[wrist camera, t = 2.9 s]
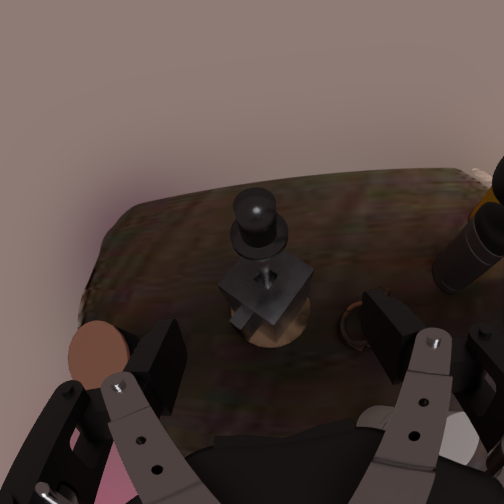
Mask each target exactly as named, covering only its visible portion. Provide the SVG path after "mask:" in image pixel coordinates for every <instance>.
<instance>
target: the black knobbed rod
mask: <svg viewBox="0 0 504 504" xmlns="http://www.w3.org/2000/svg"><path fill="white" fill-rule="evenodd" d="M233 208H234V212H235V216H236V220H235V221H234V223H233V224H232V227H231V230H230V239H231V242H232V245H233V247H234V249H235V251H236V252H237V253H238V254H239V255H240V256H242V257H243V258H245V259H247V260H251V261H258V264H259V269H260V273H259V274H258V276H257V277H256V278H255V279H254V280H255V281H256V282H258V283H259V284H261V285H262V286H263V287H265V288H266V289H269V287H270V286H271V285H272V284H273V282H274V281H275V280H276V278H277V277H278V276H277V275H276V274H274V273H273V272H271V271H270V267H269V260H270V259H272V258H274V257H276V256H277V255H279V254H280V253H281V252H282V251H283V249H284V248H285V246H286V244H287V241H288V227H287V224H286V222H285V220H284V219H283V218H282V216H280V215H279V214H278V213H276V200H275V197H274V196H273V194H272V193H271V192H269V191H268V190H266V189H263V188H258V187H254V188H249V189H246V190H244V191H242V192H241V193H239V194H238V195H237V196H236V198H235V200H234V203H233Z"/></svg>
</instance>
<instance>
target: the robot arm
mask: <svg viewBox="0 0 504 504" xmlns="http://www.w3.org/2000/svg"><path fill="white" fill-rule="evenodd" d="M492 190H493V193H494V195H495V197H496V199H497V200H498V201H499V202H500V203H501V204H499V203H496V202H486V203H484V204H483V205H482V206H481V207H480V208H479V209H478V211H477V212H476V213H475V215H474V216H473V217H472V218H471V219H470V221H469V222H468V223H467V224H466V226H465V227H464V228H463V229H462V230H461V232H460V233H459V234H458V235H457V236H456V237H455V238H454V240H453V241H452V242H451V243H450V244H449V245H448V246H447V247H446V248H445V249H444V250H443V252H442V253H441V254H440V255H439V256H438V257H437V258H436V259H435V261H434V263H433V276H434V279H435V281H436V283H437V285H438V286H439V287H440V288H441V289H442V290H443V291H444V292H446V293H449V294H455V293H458V292H460V291H461V290H462V289H464V288H465V287H466V286H468V285H469V284H471V283H472V282H473V281H475V280H476V279H477V278H478V277H480V276H481V275H482V274H484V273H485V272H486V271H487V270H489V269H490V268H491V267H492V266H493V265H495V264H496V263H497V262H498V261H499V260H501V259H502V258H503V257H504V156H503V158H502V159H501V160H500V162H499V163H498V165H497V167H496V169H495V171H494V174H493V179H492ZM362 331H363V334H364V337H365V338H366V340H367V342H368V343H369V345H370V347H371V348H372V350H373V352H374V353H375V355H376V357H377V358H378V360H379V362H380V363H381V365H382V367H383V368H384V370H385V372H386V374H387V375H388V377H389V379H390V380H391V382H392V384H393V385H396V384H399V383H402V382H403V385H402V388H401V391H400V394H399V397H398V400H397V403H396V405H395V408H394V411H393V414H392V416H391V419H390V421H389V424H388V426H387V429H386V431H385V430H382V429H378V428H372V427H360V426H359V427H355V425H354V423H353V420H352V418H350V419H346V420H341V421H337V422H333V423H328V424H323V425H319V426H316V427H314V428H311V429H308V430H306V431H303V432H301V433H298V434H295V435H292V436H289V437H286V438H274V437H263V436H253V435H238V436H215V437H214V446H210V447H207V448H203V449H201V450H198V451H196V452H194V453H192V454H190V455H188V456H187V457H185V458H184V457H183V456H182V455H181V453H180V452H179V450H178V449H177V447H176V446H175V444H174V443H173V442H172V440H171V439H170V437H169V435H168V434H167V432H166V431H165V429H164V428H163V426H162V425H161V423H160V421H159V418H160V415H166V416H171V414H172V411H173V407H174V404H175V400H176V397H177V393H178V390H179V386H180V383H181V379H182V376H183V373H184V369H185V366H186V363H187V350H186V346H185V343H184V340H183V337H182V334H181V331H180V328H179V325H178V322H177V321H176V319H168V320H159V321H158V322H157V323H156V325H155V327H154V329H153V330H152V332H148V333H147V334H146V335H145V336H143V337H142V338H141V339H140V341H139V343H138V345H137V347H136V348H135V350H134V352H133V353H132V355H131V357H130V359H129V360H128V362H127V364H126V366H125V368H124V369H123V371H122V372H117V373H114V374H112V375H110V376H108V377H107V378H106V379H105V380H104V381H103V382H102V384H101V388H95V389H89V390H85V388H84V387H83V385H82V383H81V382H79V381H77V380H70V381H67V382H65V383H62V384H61V385H60V386H58V388H57V389H56V390H55V392H54V393H53V395H52V396H51V398H50V399H49V401H48V403H47V404H46V406H45V407H44V409H43V411H42V412H41V414H40V416H39V417H38V419H37V421H36V422H35V424H34V426H33V428H32V429H31V431H30V433H29V435H28V436H27V438H26V440H25V442H24V443H23V445H22V447H21V449H20V451H19V453H18V455H17V457H16V458H15V461H14V463H13V465H12V466H11V468H10V470H9V473H8V475H7V477H6V479H5V481H4V483H3V485H2V488H1V490H0V504H94V502H95V498H96V495H97V491H98V488H99V484H100V481H101V478H102V474H103V471H104V468H105V465H106V462H107V459H108V455H109V453H110V449H111V446H112V444H113V441H114V442H115V445H116V447H117V450H118V452H119V455H120V457H121V459H122V462H123V464H124V466H125V468H126V471H127V473H128V475H129V477H130V479H131V481H132V483H133V485H134V487H135V489H136V491H137V493H138V495H137V496H135V497H134V498H133V499H131V500H130V501H129V502H127V503H126V504H504V335H503V334H502V333H501V332H500V331H499V330H498V329H497V328H496V327H495V326H493V325H491V324H488V323H476V324H474V325H472V326H471V327H470V330H469V333H468V336H467V337H459V338H451V336H450V334H449V333H447V332H446V331H444V330H442V329H439V328H428V327H427V326H426V325H425V324H424V323H423V322H422V321H421V320H420V319H419V318H418V317H417V316H416V315H415V314H413V312H412V311H411V310H410V309H408V307H407V306H406V305H405V304H404V303H403V302H402V301H400V300H398V299H396V298H394V297H390V298H389V297H388V296H387V294H386V293H385V292H384V291H383V290H382V289H375V290H370V291H365V292H364V293H363V296H362ZM486 373H488V374H489V375H490V376H491V378H492V379H493V380H494V382H495V384H496V393H495V392H494V390H493V389H492V387H491V386H490V385H489V384H488V382H487V381H486V380H485V376H486ZM451 393H453V394H454V395H455V397H456V399H457V400H458V402H459V403H460V405H461V407H462V408H463V410H464V412H465V413H466V415H467V417H468V418H469V420H470V422H471V423H472V425H473V427H474V429H475V430H476V432H477V434H478V436H479V438H480V440H481V441H482V443H483V445H484V447H485V449H486V451H487V453H488V456H487V460H486V467H487V469H486V471H485V472H483V471H480V470H477V469H474V468H471V467H469V466H466V465H463V464H461V463H458V462H455V461H453V460H450V459H448V458H445V457H443V456H440V455H439V452H440V448H441V444H442V439H443V435H444V430H445V426H446V420H447V415H448V409H449V403H450V396H451ZM75 428H77V429H78V431H79V432H80V435H79V437H78V440H77V442H76V444H75V446H74V449H73V451H72V450H71V448H70V438H71V436H72V434H73V432H74V430H75Z"/></svg>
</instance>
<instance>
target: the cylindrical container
mask: <svg viewBox="0 0 504 504" xmlns="http://www.w3.org/2000/svg"><path fill="white" fill-rule="evenodd" d="M394 408H395V407H389V406H382V405H376V406H372V407H370V408H368V409H366V410H365V411H364V412H363V413H362V414H361V415H360V417H359V419H358V421H357V425H356V427H359V426H360V427H372V428H378V429H382V430H385V431H386V429H387V426H388V424H389V421H390V419H391V416H392V414H393V411H394ZM478 441H479V436H478V434H477V432H476V430H475V429H474V427H473V425H472V423H471V422H470V420H469V418H468V417H467V415H466V413H465V412H449V411H448V415H447V420H446V426H445V430H444V435H443V439H442V444H441V448H440V452H439V455H440V456H443V457H445V458H448V459H450V460H453V461H455V462H458V463H461V464H463V465H467V463H468V462H469V461H470V459H471V458H472V456H473V454H474V452H475V450H476V448H477V445H478Z"/></svg>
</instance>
